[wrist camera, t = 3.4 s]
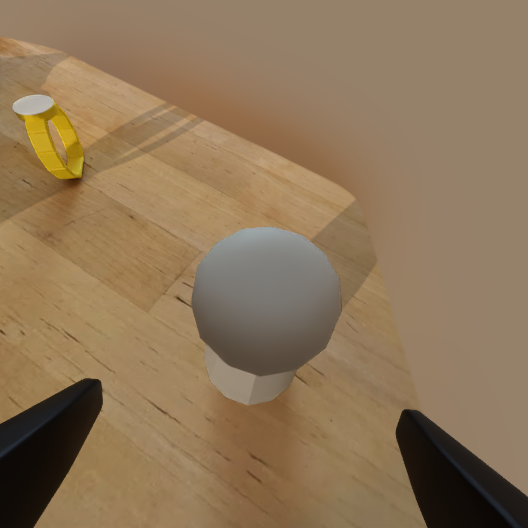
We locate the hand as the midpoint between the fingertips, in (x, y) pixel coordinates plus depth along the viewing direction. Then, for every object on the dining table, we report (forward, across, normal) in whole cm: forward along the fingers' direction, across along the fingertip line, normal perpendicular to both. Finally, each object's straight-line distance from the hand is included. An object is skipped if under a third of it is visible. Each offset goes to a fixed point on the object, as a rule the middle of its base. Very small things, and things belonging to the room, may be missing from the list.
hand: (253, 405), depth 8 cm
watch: (+20, +18, -6) cm, 28 cm away
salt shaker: (+9, 0, +5) cm, 11 cm away
